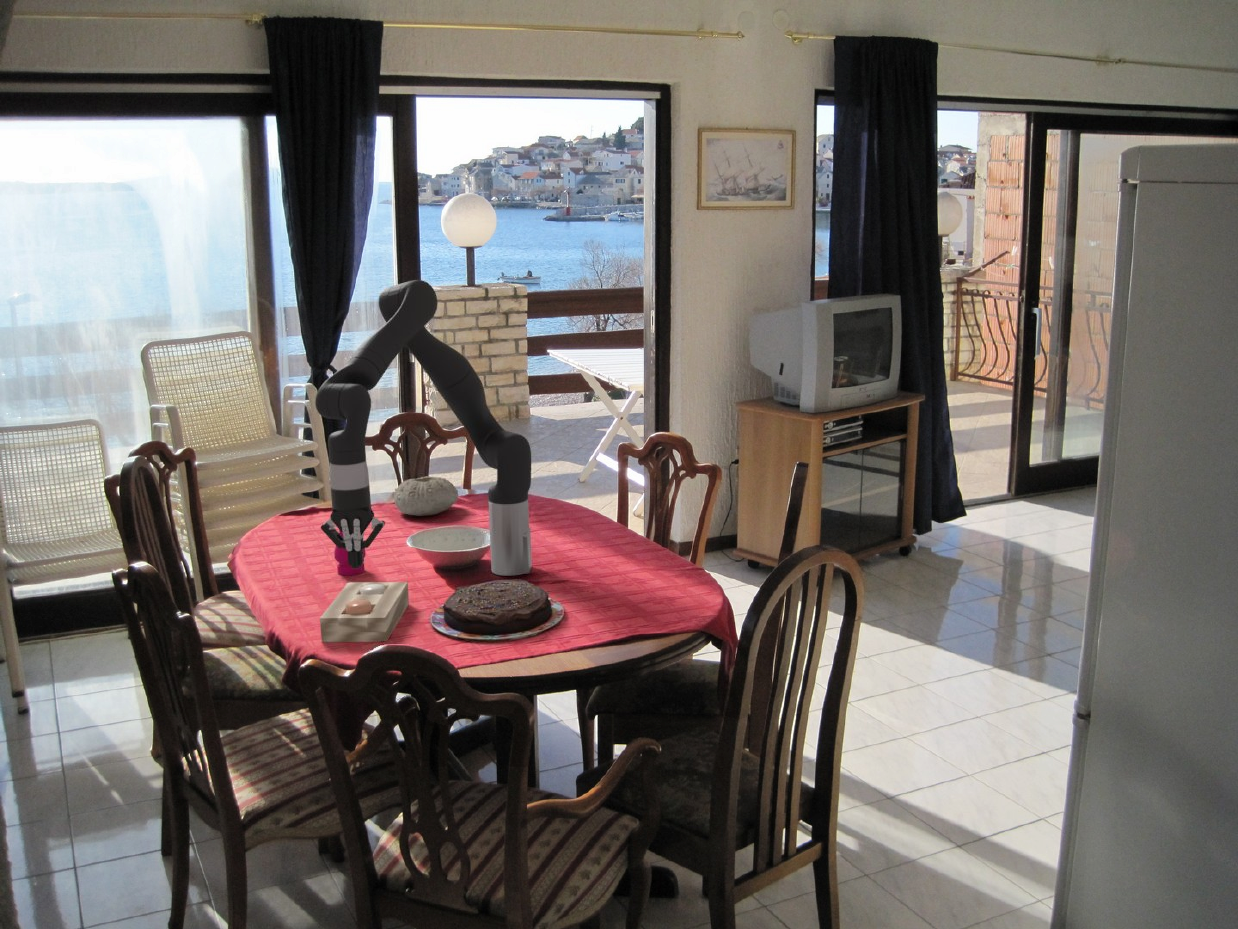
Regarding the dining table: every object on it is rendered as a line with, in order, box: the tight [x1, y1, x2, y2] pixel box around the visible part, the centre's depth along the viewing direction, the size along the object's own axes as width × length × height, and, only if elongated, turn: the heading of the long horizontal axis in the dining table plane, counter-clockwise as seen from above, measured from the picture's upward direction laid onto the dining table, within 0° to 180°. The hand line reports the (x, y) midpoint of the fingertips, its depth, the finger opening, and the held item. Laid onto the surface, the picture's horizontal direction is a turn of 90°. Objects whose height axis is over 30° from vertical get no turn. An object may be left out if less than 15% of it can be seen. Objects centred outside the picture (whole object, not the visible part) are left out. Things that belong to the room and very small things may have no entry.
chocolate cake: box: [429, 578, 565, 644], centre depth 244 cm, size 28×28×7 cm
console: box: [319, 581, 410, 643], centre depth 243 cm, size 13×22×5 cm, turn 178°
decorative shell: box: [393, 475, 459, 517], centre depth 327 cm, size 18×18×10 cm
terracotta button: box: [346, 600, 371, 614], centre depth 237 cm, size 5×5×3 cm
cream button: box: [360, 584, 385, 594], centre depth 248 cm, size 5×5×3 cm
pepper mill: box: [333, 529, 366, 577], centre depth 275 cm, size 7×7×20 cm
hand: (356, 567), depth 234 cm, fingers closed
